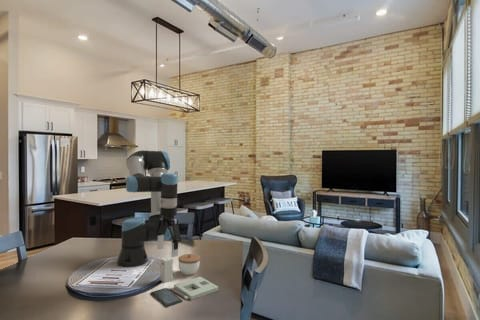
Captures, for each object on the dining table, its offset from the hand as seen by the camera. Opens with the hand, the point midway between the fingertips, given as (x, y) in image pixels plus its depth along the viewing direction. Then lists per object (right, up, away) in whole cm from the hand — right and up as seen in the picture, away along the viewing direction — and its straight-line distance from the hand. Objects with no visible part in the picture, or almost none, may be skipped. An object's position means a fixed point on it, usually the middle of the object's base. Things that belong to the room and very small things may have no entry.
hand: (167, 252), depth 136 cm
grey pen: (+8, -14, -12) cm, 20 cm away
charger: (-1, -13, 0) cm, 13 cm away
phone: (+4, -14, -16) cm, 22 cm away
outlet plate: (+15, -14, -7) cm, 21 cm away
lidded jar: (+8, -14, +10) cm, 19 cm away
